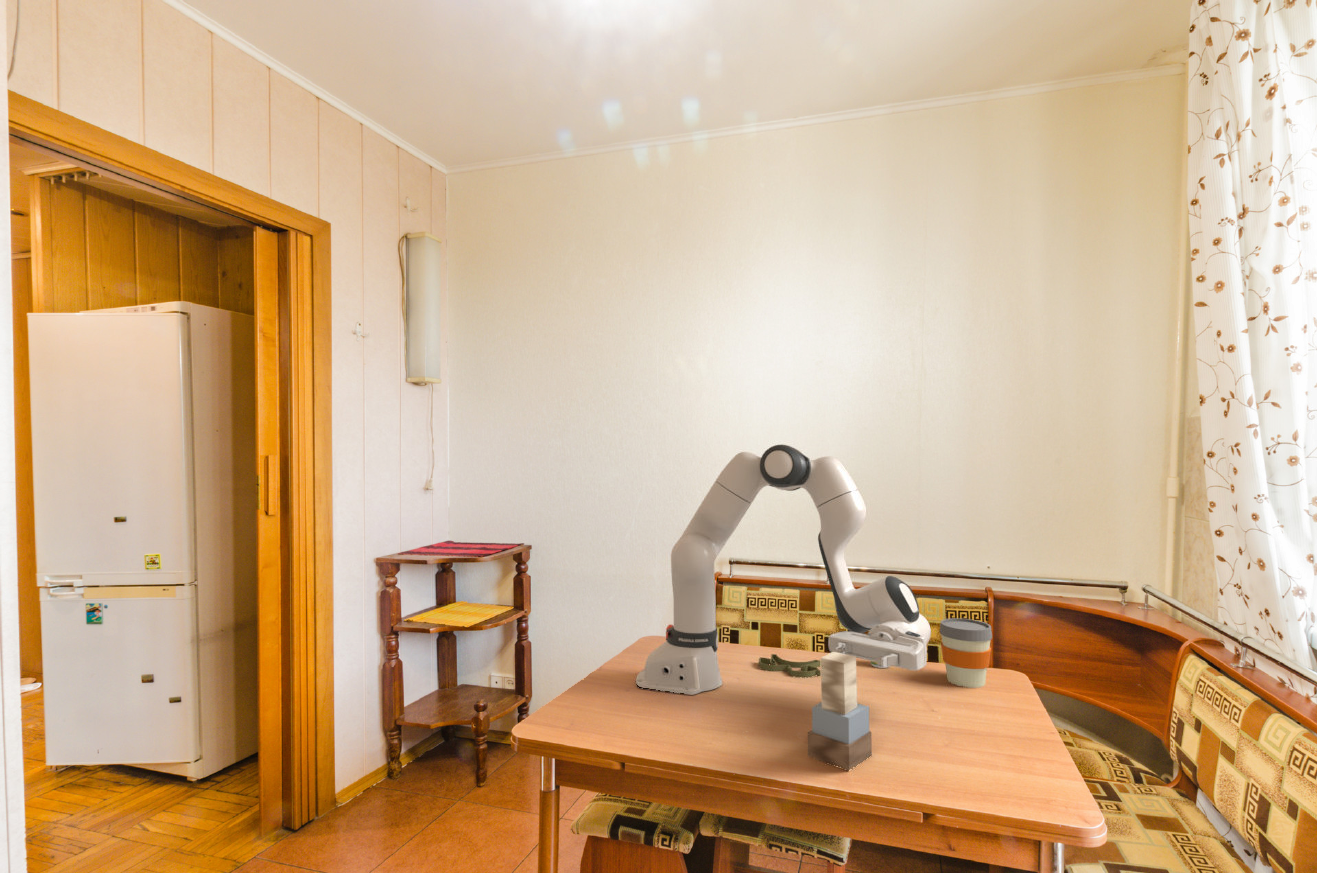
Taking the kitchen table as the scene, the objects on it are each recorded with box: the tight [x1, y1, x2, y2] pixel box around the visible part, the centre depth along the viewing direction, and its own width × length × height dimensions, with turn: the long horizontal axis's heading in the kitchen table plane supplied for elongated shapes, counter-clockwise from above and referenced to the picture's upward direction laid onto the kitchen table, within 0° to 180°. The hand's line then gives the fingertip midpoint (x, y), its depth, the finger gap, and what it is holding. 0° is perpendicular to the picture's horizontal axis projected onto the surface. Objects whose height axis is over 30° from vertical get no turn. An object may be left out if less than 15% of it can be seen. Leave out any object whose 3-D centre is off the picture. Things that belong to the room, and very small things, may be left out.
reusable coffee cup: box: [939, 617, 993, 689], centre depth 176 cm, size 13×13×15 cm
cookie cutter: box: [758, 653, 821, 679], centre depth 187 cm, size 18×12×2 cm, turn 64°
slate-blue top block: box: [811, 701, 870, 744], centre depth 134 cm, size 8×8×5 cm
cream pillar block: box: [820, 651, 858, 715], centre depth 133 cm, size 5×5×10 cm
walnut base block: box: [807, 729, 873, 772], centre depth 134 cm, size 9×9×5 cm
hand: (858, 657), depth 140 cm, fingers open, 8 cm apart
